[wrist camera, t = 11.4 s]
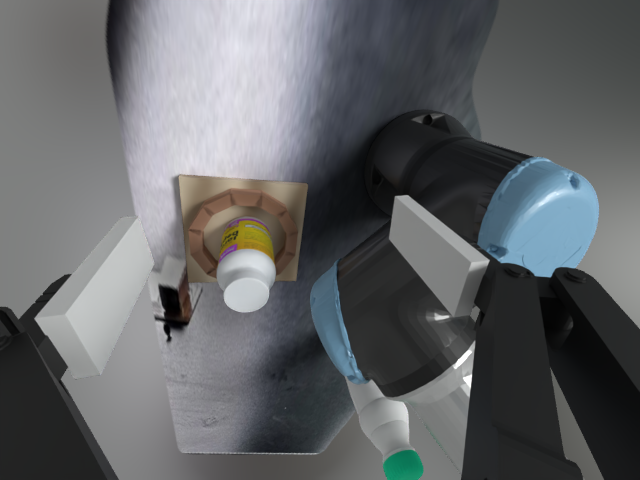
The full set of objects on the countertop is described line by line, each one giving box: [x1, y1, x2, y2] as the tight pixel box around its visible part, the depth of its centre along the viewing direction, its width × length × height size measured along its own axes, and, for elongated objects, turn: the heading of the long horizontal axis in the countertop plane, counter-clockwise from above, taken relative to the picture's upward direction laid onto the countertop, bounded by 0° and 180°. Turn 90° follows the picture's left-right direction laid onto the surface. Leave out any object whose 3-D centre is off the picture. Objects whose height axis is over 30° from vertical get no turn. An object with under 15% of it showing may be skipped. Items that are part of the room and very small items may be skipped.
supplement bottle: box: [217, 216, 276, 313], centre depth 36 cm, size 7×7×13 cm
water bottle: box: [345, 376, 423, 480], centre depth 46 cm, size 7×7×25 cm
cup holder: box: [179, 174, 308, 283], centre depth 41 cm, size 16×16×3 cm
